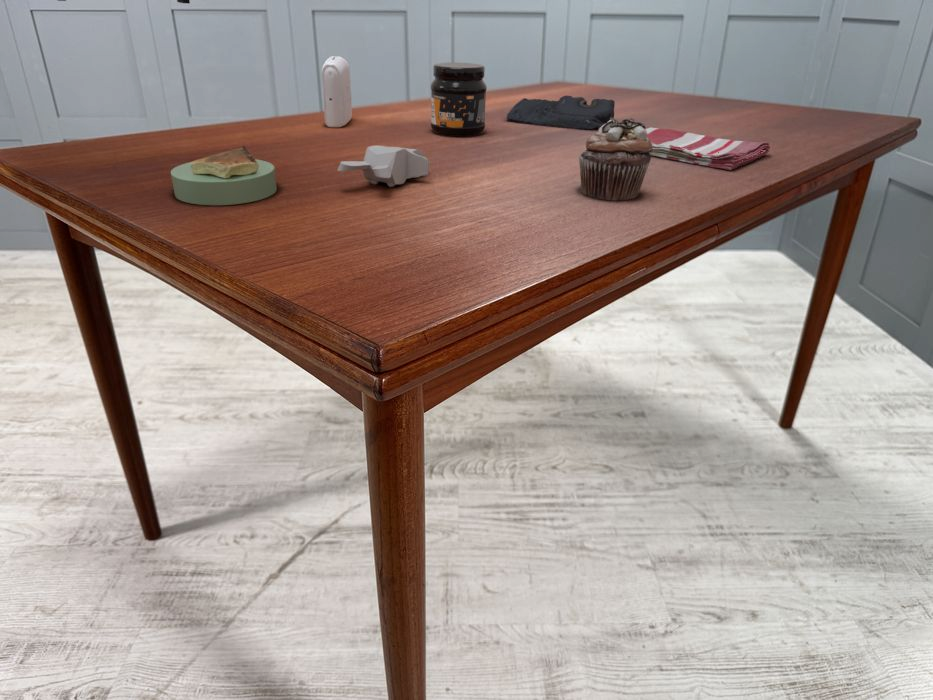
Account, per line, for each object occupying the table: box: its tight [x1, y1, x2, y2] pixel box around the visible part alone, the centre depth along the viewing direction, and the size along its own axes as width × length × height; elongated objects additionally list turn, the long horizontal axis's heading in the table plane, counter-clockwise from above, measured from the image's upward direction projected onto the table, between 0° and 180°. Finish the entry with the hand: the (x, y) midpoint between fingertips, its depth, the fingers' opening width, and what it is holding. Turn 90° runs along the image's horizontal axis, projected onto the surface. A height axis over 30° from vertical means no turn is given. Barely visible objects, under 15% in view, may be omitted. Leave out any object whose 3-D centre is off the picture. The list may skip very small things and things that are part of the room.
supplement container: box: [430, 62, 488, 137], centre depth 126 cm, size 10×10×12 cm
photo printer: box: [321, 55, 353, 128], centre depth 131 cm, size 10×4×12 cm, turn 178°
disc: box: [170, 158, 278, 206], centre depth 89 cm, size 13×13×3 cm
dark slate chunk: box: [506, 95, 616, 131], centre depth 142 cm, size 15×22×5 cm
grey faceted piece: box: [337, 144, 430, 188], centre depth 94 cm, size 10×5×15 cm
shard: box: [190, 145, 259, 178], centre depth 88 cm, size 11×8×2 cm
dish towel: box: [645, 126, 771, 171], centre depth 118 cm, size 17×23×3 cm
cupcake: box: [578, 117, 652, 201], centre depth 91 cm, size 10×10×10 cm
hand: (124, 1), depth 80 cm, fingers open, 13 cm apart
